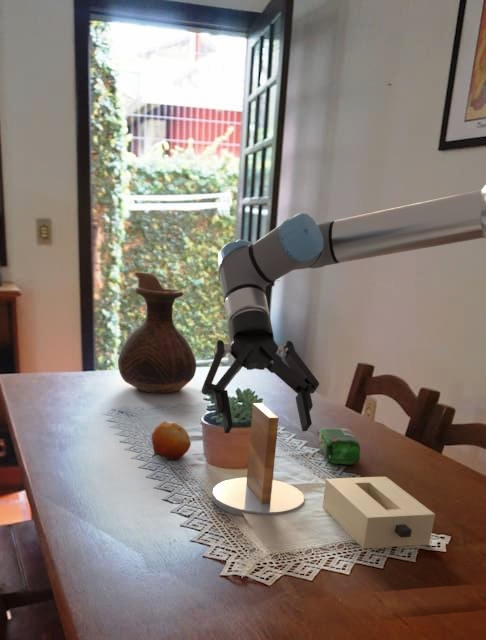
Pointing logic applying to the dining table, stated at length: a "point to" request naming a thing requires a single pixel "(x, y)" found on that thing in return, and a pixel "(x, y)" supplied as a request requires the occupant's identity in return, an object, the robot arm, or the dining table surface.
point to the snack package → (339, 446)
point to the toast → (262, 452)
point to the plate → (255, 498)
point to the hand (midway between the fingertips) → (268, 428)
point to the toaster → (377, 512)
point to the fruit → (170, 441)
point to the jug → (157, 344)
